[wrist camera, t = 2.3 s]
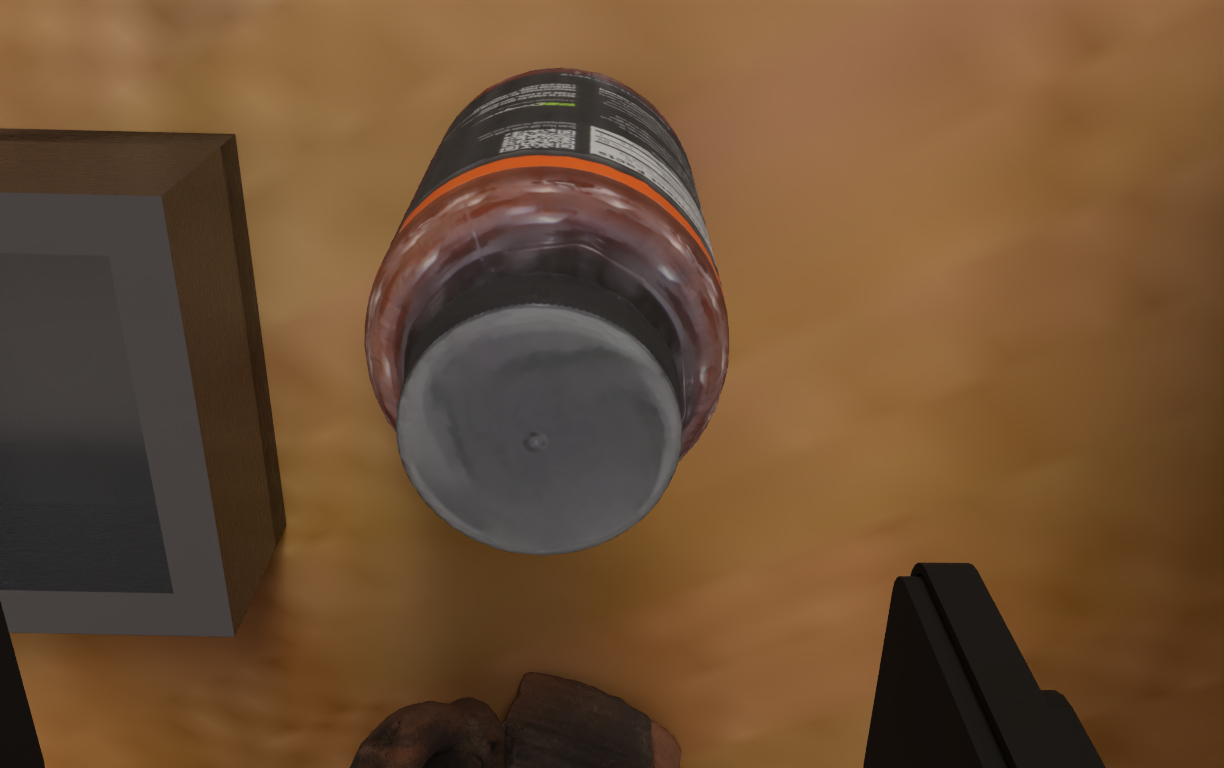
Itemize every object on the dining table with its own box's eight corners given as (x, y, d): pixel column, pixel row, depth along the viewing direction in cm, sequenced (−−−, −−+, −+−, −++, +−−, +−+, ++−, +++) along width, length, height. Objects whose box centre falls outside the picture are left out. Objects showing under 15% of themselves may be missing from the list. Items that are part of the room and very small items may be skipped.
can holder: (-238, 122, 25) (-404, 182, 21) (234, 134, 25) (161, 196, 21) (-110, 516, 29) (-225, 627, 25) (286, 524, 29) (234, 636, 25)
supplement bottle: (531, 357, 27) (484, 677, 17) (379, 156, 25) (219, 389, 15) (743, 229, 26) (828, 497, 16) (601, 3, 23) (593, 148, 13)
